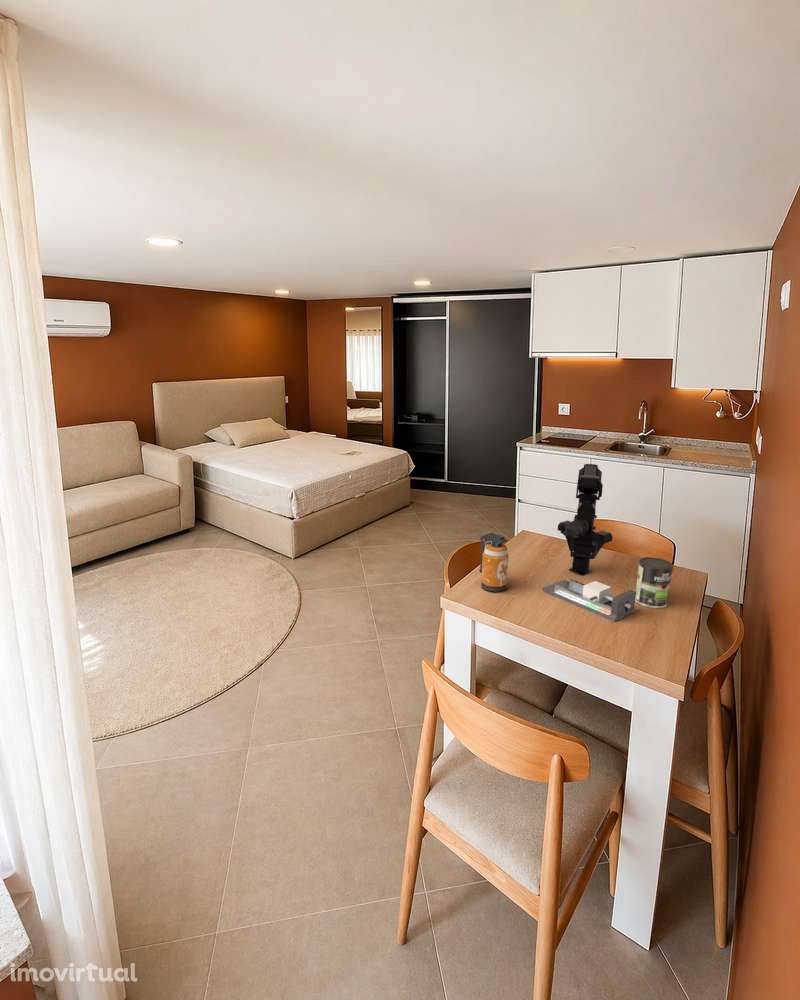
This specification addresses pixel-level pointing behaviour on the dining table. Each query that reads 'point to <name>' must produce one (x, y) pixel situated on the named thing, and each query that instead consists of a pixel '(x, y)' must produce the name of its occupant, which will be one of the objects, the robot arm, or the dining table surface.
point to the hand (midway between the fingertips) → (582, 554)
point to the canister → (494, 562)
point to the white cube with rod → (599, 592)
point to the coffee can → (653, 582)
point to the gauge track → (608, 610)
